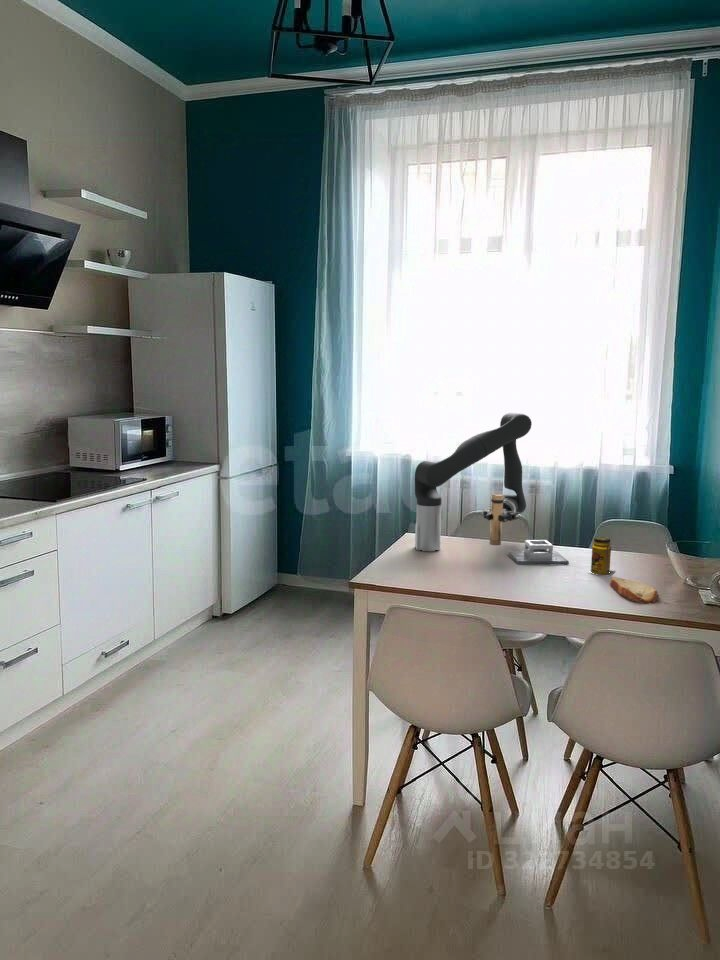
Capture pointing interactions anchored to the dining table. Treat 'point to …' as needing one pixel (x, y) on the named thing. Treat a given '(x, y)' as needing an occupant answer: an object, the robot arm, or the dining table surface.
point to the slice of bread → (634, 590)
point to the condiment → (601, 557)
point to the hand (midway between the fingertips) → (495, 518)
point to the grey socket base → (538, 554)
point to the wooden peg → (496, 519)
